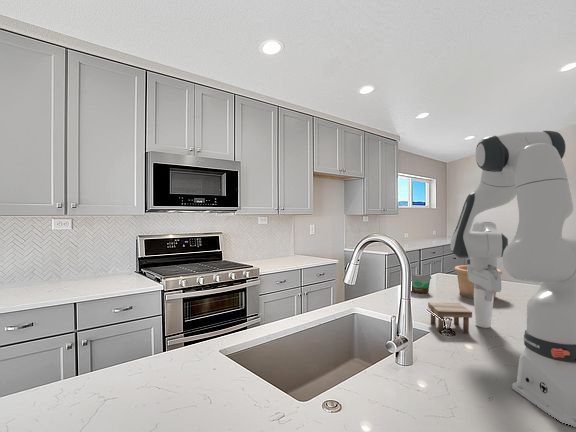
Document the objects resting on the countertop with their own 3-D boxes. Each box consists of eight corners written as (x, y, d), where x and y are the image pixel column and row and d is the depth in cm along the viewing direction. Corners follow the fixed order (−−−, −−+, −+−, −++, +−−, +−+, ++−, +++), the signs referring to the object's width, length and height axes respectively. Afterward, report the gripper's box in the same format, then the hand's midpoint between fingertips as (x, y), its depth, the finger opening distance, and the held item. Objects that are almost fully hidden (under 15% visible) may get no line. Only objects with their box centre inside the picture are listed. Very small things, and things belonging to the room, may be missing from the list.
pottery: (447, 295, 179) (447, 268, 179) (463, 288, 194) (463, 263, 193) (493, 303, 163) (493, 274, 162) (506, 295, 178) (506, 268, 177)
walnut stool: (471, 333, 123) (472, 312, 123) (438, 332, 125) (438, 311, 125) (458, 322, 135) (458, 303, 135) (428, 321, 137) (428, 302, 136)
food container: (408, 293, 182) (408, 275, 182) (407, 290, 188) (407, 273, 188) (432, 295, 179) (432, 276, 178) (431, 292, 184) (431, 274, 184)
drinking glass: (496, 329, 128) (496, 290, 127) (476, 328, 129) (477, 289, 129) (489, 323, 134) (489, 286, 134) (470, 322, 136) (471, 285, 135)
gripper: (506, 267, 120) (506, 305, 121) (480, 259, 141) (479, 291, 141) (488, 267, 121) (487, 305, 121) (464, 259, 141) (464, 291, 142)
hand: (483, 298), depth 131 cm, fingers closed on drinking glass, 7 cm apart
